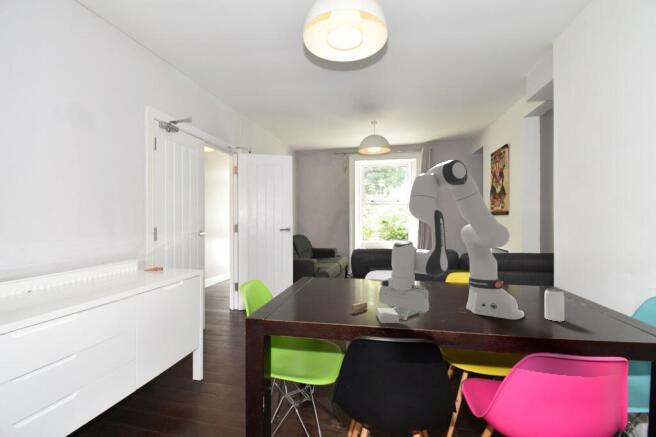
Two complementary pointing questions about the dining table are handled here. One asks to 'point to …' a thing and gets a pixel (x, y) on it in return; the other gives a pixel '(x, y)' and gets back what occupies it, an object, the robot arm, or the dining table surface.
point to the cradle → (404, 311)
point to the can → (554, 304)
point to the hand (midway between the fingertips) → (402, 319)
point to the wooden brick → (359, 307)
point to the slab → (387, 315)
